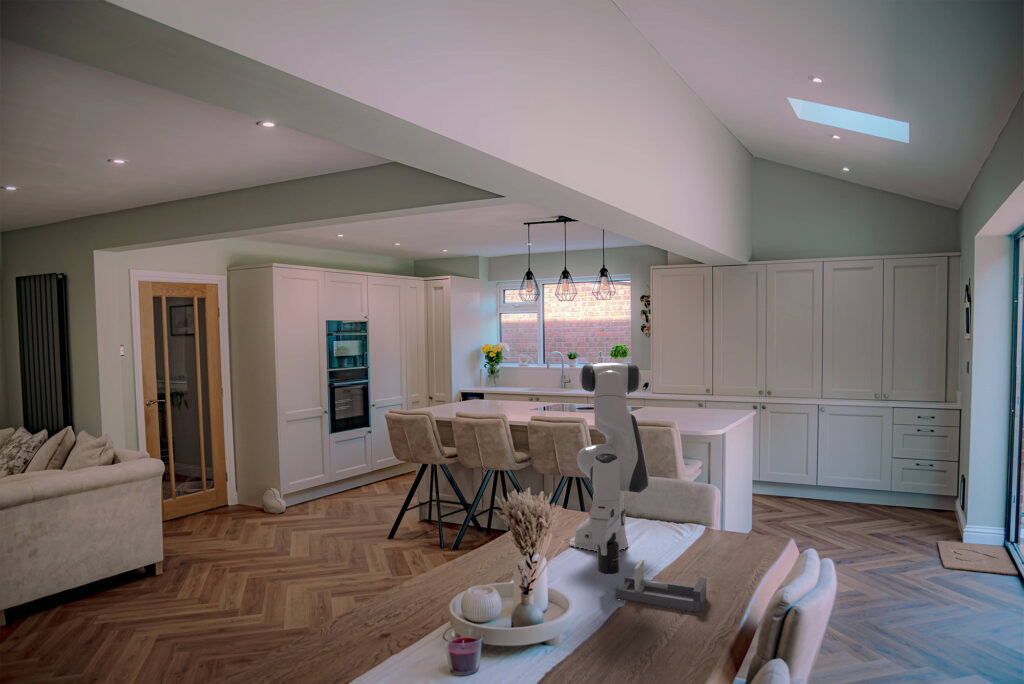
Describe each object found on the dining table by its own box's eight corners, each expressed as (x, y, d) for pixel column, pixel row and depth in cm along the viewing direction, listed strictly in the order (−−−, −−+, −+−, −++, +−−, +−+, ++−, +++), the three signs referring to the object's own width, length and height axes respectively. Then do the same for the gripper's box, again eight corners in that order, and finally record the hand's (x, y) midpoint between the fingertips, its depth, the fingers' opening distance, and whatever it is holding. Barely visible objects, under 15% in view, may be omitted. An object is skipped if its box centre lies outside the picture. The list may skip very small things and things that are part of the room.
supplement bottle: (619, 575, 196) (618, 536, 196) (596, 574, 198) (596, 535, 198) (620, 567, 203) (619, 530, 203) (598, 566, 204) (597, 529, 205)
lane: (615, 599, 194) (615, 579, 194) (625, 585, 204) (625, 567, 204) (700, 612, 184) (700, 592, 184) (706, 598, 194) (705, 578, 194)
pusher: (634, 597, 193) (634, 568, 193) (641, 588, 201) (640, 559, 201) (664, 602, 189) (664, 572, 189) (670, 592, 197) (669, 563, 197)
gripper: (606, 498, 211) (607, 540, 211) (587, 513, 193) (588, 559, 193) (625, 499, 209) (626, 542, 209) (608, 515, 190) (609, 562, 190)
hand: (608, 550), depth 201 cm, fingers closed on supplement bottle, 7 cm apart
